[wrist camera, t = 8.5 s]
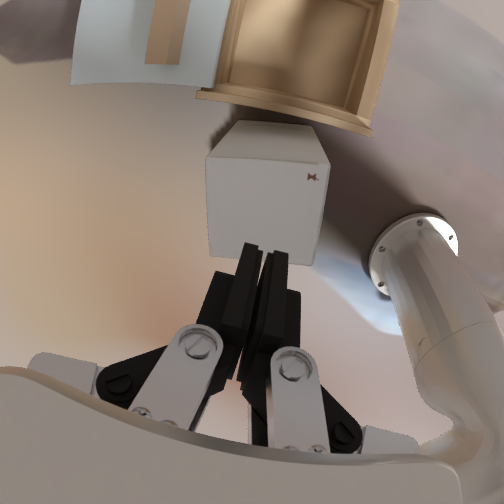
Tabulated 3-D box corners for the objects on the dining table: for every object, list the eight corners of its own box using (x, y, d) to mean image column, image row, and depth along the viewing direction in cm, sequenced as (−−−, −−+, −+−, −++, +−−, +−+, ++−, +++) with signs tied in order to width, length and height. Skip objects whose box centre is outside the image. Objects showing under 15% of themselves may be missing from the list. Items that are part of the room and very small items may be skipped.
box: (378, 6, 17) (406, -10, 11) (350, 121, 24) (370, 137, 19) (241, -25, 17) (227, -53, 11) (217, 92, 24) (195, 98, 18)
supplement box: (236, 118, 26) (202, 152, 15) (313, 125, 25) (336, 164, 15) (234, 187, 30) (206, 258, 20) (305, 193, 29) (315, 269, 19)
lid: (240, -39, 12) (233, -55, 9) (213, 87, 19) (201, 90, 16) (93, -25, 12) (71, -31, 9) (75, 84, 18) (52, 89, 16)
